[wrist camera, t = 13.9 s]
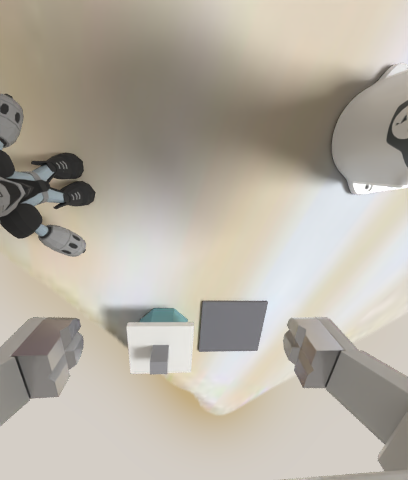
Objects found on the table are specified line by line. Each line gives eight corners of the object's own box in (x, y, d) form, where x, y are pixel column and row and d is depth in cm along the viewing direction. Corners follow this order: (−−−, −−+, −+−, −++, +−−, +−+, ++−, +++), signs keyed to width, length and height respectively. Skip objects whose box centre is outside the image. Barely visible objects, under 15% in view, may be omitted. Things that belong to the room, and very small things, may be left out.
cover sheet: (193, 322, 39) (194, 341, 34) (190, 367, 43) (191, 389, 39) (127, 322, 37) (120, 342, 33) (131, 368, 42) (125, 392, 37)
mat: (267, 301, 44) (267, 302, 44) (256, 349, 49) (257, 350, 49) (202, 300, 43) (202, 301, 43) (198, 350, 48) (198, 351, 48)
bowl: (188, 308, 43) (188, 326, 39) (186, 344, 47) (186, 364, 42) (139, 308, 42) (133, 326, 38) (141, 344, 46) (136, 365, 41)
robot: (27, 114, 29) (-255, 34, 11) (60, 106, 29) (-163, 11, 10) (86, 239, 36) (-20, 322, 18) (112, 233, 36) (35, 309, 18)
